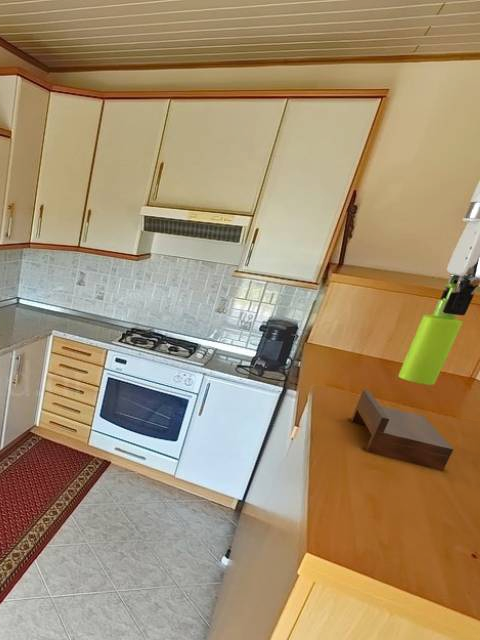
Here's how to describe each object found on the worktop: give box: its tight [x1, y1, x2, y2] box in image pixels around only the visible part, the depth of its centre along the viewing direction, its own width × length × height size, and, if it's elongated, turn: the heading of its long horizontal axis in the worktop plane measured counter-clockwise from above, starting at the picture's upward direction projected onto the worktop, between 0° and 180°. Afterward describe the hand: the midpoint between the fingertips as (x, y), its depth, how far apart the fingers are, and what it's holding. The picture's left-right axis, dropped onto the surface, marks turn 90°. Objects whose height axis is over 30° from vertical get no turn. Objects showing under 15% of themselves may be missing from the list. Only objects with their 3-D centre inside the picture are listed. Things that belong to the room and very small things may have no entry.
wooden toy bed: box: [350, 389, 455, 472], centre depth 104 cm, size 12×20×8 cm, turn 151°
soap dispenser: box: [397, 282, 480, 386], centre depth 98 cm, size 6×7×20 cm
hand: (450, 311), depth 96 cm, fingers closed on soap dispenser, 3 cm apart
